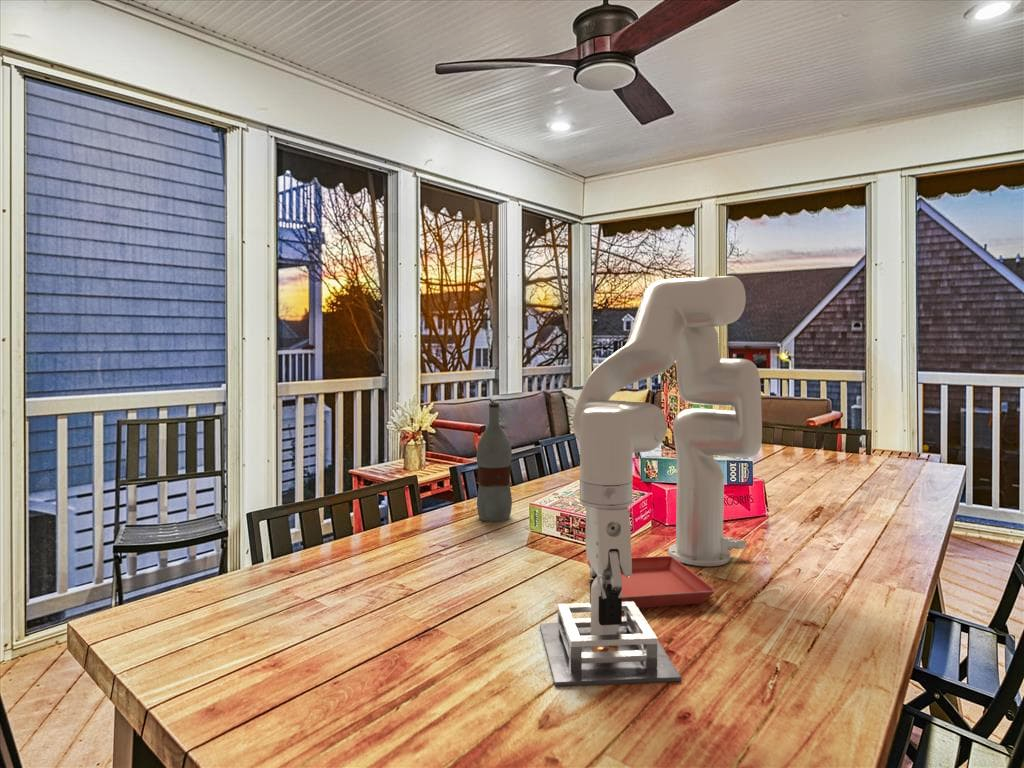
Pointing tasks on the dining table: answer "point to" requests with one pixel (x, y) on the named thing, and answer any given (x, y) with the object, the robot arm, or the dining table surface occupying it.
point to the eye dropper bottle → (595, 626)
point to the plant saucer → (662, 583)
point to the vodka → (494, 470)
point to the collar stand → (604, 650)
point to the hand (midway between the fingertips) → (605, 613)
